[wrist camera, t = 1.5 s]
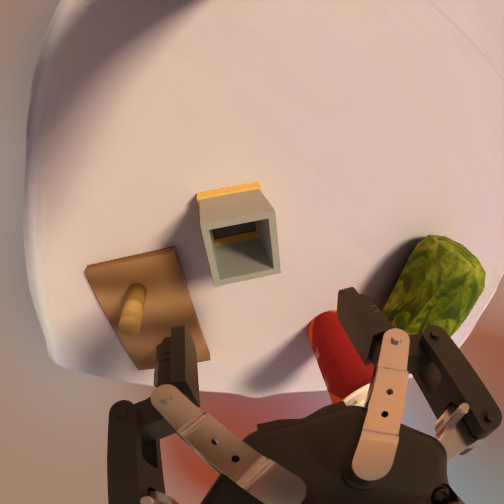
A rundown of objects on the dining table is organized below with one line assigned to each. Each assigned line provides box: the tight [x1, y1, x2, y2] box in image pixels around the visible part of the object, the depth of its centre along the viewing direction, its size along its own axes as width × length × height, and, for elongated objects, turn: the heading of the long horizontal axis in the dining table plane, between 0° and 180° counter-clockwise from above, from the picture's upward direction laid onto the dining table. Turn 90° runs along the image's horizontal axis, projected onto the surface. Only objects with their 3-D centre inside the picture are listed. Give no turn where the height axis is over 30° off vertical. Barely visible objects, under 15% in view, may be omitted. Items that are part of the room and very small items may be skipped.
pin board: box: [84, 247, 210, 388], centre depth 27 cm, size 16×10×7 cm, turn 7°
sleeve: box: [197, 182, 281, 286], centre depth 23 cm, size 6×6×7 cm
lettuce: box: [382, 235, 486, 337], centre depth 31 cm, size 12×21×11 cm, turn 161°
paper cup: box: [307, 311, 374, 407], centre depth 30 cm, size 8×8×14 cm
